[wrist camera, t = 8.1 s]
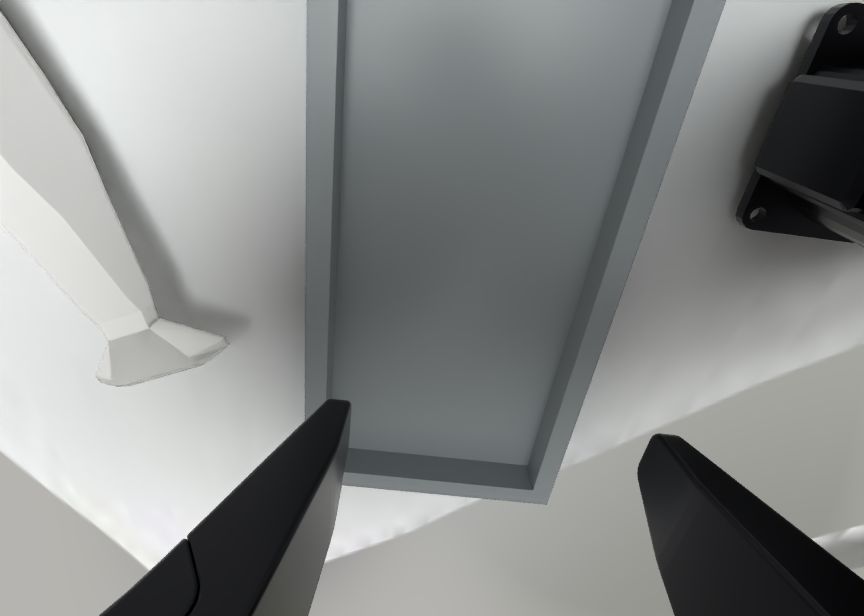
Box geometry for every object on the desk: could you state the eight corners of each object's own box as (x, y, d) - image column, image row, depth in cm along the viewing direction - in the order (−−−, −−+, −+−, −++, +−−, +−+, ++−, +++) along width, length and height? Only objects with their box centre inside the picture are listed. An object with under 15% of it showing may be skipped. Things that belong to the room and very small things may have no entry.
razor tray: (743, -158, 13) (793, -188, 11) (538, 469, 24) (546, 504, 22) (326, -231, 12) (308, -275, 10) (314, 447, 23) (304, 481, 21)
